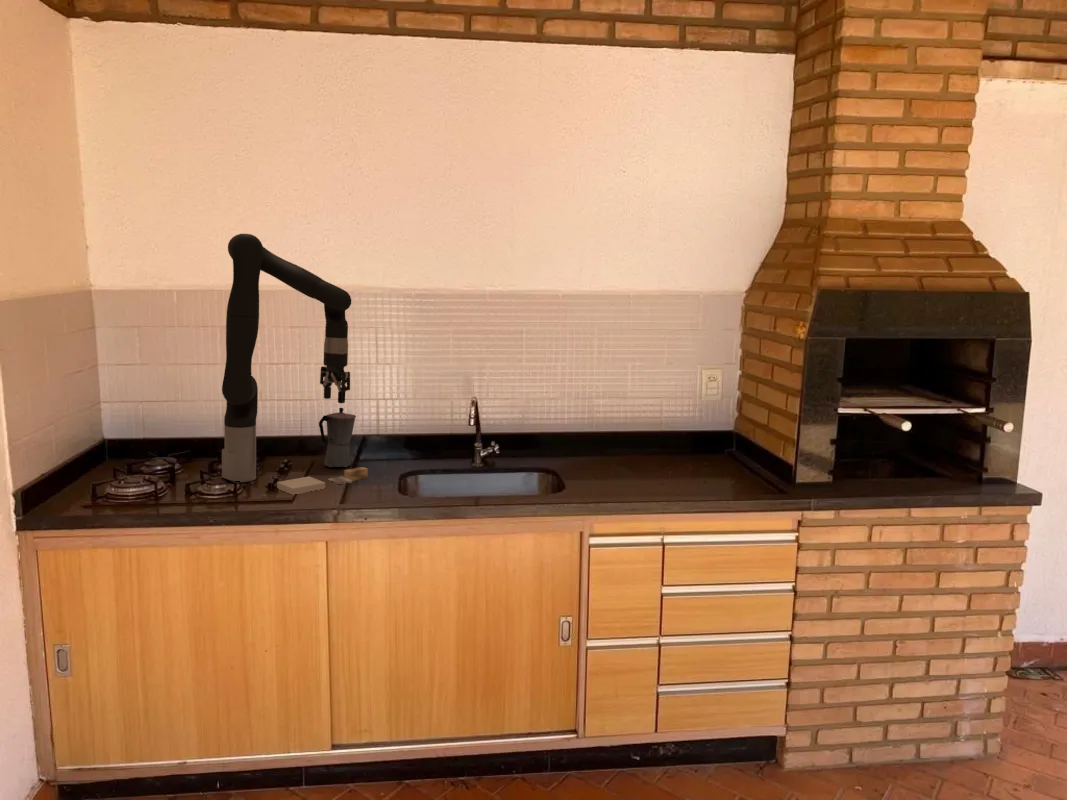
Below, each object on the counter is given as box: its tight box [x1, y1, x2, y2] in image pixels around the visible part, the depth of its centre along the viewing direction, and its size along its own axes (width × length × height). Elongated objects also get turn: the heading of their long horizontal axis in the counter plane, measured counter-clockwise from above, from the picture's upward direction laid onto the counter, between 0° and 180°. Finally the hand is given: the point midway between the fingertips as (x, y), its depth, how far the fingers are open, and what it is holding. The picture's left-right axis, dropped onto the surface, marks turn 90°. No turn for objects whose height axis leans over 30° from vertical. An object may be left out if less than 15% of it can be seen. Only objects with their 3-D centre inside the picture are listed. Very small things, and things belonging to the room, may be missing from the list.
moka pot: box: [318, 407, 357, 468], centre depth 273 cm, size 10×15×20 cm, turn 148°
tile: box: [276, 476, 326, 496], centre depth 245 cm, size 2×9×11 cm
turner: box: [327, 466, 369, 484], centre depth 258 cm, size 12×6×3 cm, turn 137°
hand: (334, 400), depth 262 cm, fingers open, 8 cm apart
